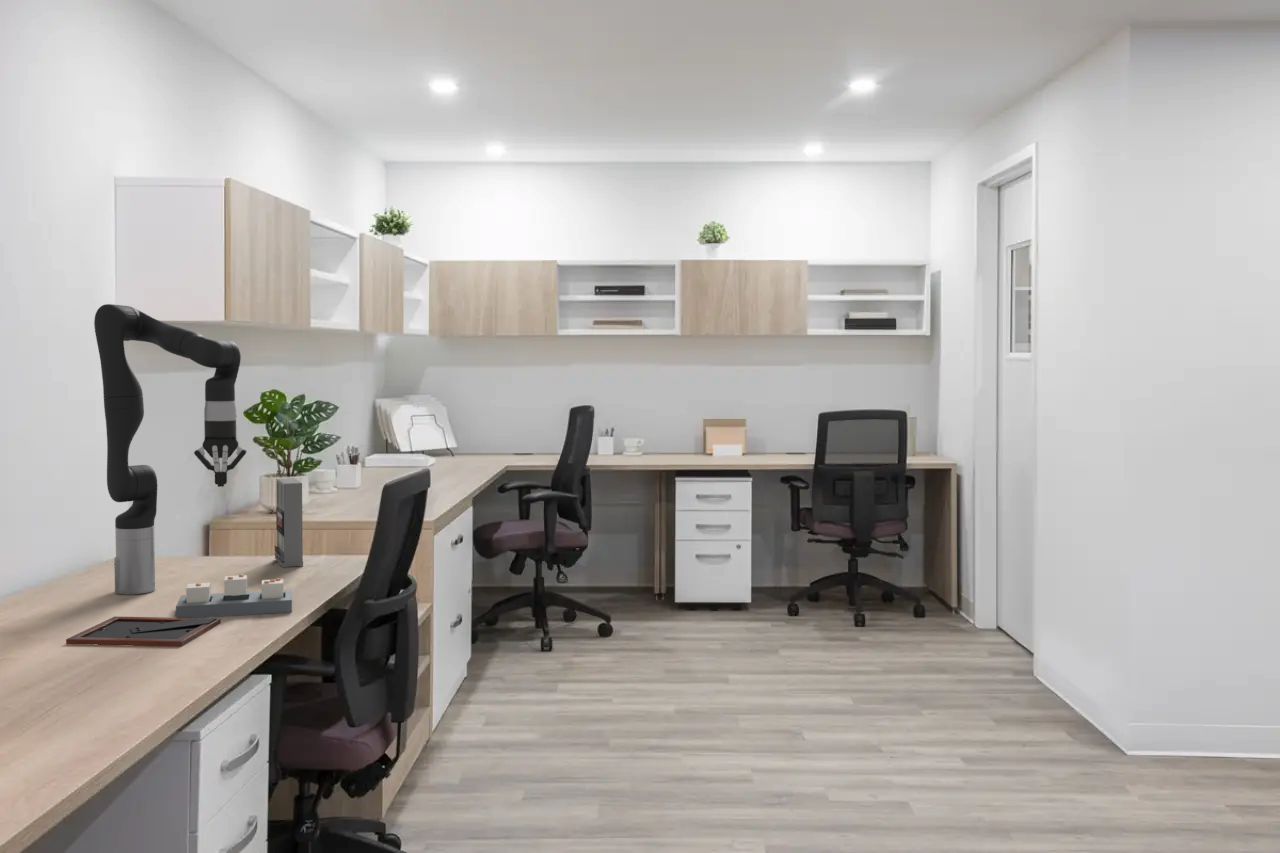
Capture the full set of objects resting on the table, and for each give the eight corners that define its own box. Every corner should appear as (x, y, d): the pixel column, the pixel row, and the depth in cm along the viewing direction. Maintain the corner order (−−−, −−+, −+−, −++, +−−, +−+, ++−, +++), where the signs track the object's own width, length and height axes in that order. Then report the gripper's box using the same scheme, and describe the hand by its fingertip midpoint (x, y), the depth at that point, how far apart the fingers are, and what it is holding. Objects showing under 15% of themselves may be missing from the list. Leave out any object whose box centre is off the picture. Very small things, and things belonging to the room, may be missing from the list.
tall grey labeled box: (274, 559, 320) (273, 478, 318) (294, 558, 323) (294, 478, 321) (281, 568, 308) (281, 483, 306) (303, 566, 310) (302, 483, 309)
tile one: (186, 605, 250) (186, 586, 250) (188, 601, 255) (188, 582, 255) (208, 604, 252) (208, 585, 252) (210, 600, 257) (210, 581, 256)
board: (176, 618, 247) (175, 606, 246) (181, 607, 258) (181, 595, 258) (291, 612, 255) (291, 599, 255) (291, 601, 266) (291, 589, 266)
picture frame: (220, 625, 243) (114, 623, 244) (220, 617, 243) (114, 615, 244) (181, 649, 223) (66, 647, 224) (181, 640, 223) (66, 637, 224)
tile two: (224, 597, 253) (224, 578, 253) (225, 593, 258) (225, 574, 257) (246, 596, 255) (246, 577, 254) (247, 592, 259) (247, 573, 259)
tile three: (261, 601, 256) (261, 582, 255) (262, 597, 260) (262, 578, 260) (283, 600, 257) (283, 581, 257) (283, 595, 262) (283, 577, 262)
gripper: (190, 419, 260) (191, 488, 261) (247, 419, 264) (248, 487, 265) (193, 418, 267) (194, 485, 268) (248, 417, 271) (249, 484, 272)
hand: (221, 486), depth 266 cm, fingers closed
